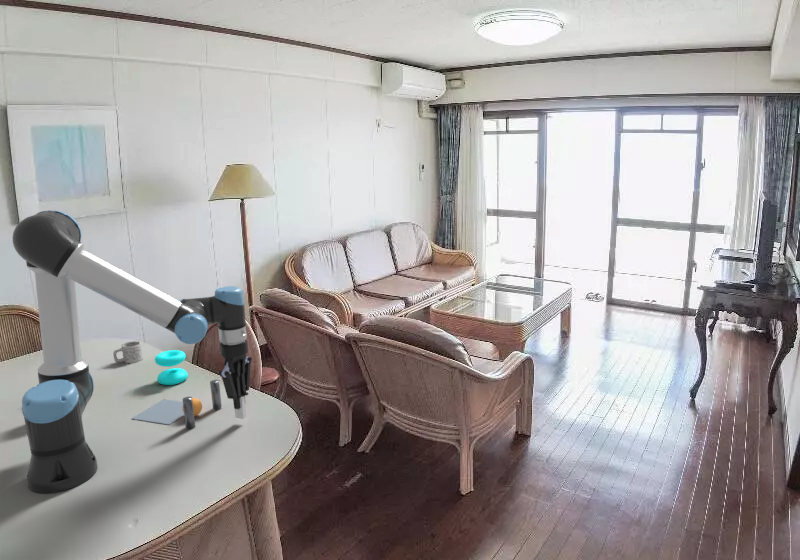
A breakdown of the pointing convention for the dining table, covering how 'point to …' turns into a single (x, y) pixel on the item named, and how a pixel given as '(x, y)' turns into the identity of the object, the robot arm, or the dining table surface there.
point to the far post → (215, 394)
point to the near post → (189, 412)
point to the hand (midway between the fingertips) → (240, 417)
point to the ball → (196, 406)
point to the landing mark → (162, 412)
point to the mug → (130, 352)
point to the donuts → (172, 374)
